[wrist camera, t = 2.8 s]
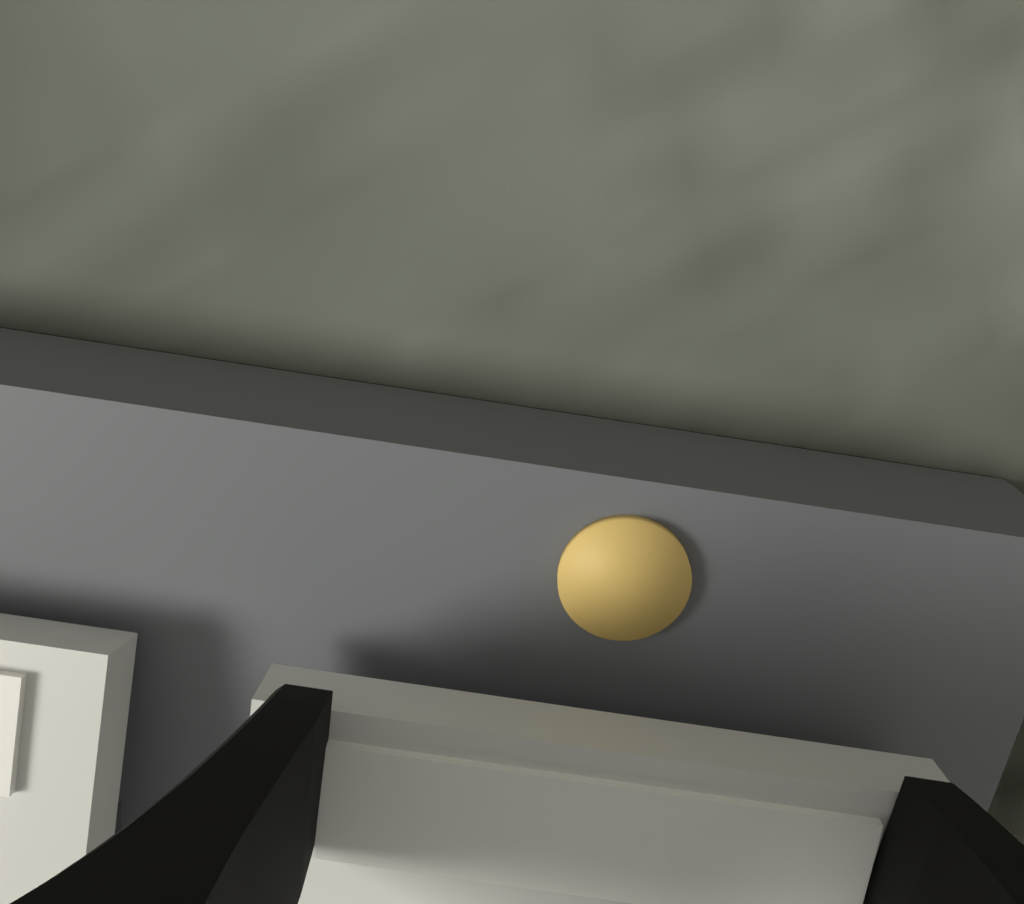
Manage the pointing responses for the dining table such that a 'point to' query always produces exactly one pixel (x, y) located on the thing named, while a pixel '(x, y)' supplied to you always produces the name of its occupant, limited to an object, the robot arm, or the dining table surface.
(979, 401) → the dining table surface
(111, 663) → the switch
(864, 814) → the switch
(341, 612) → the switch panel
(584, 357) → the dining table surface
